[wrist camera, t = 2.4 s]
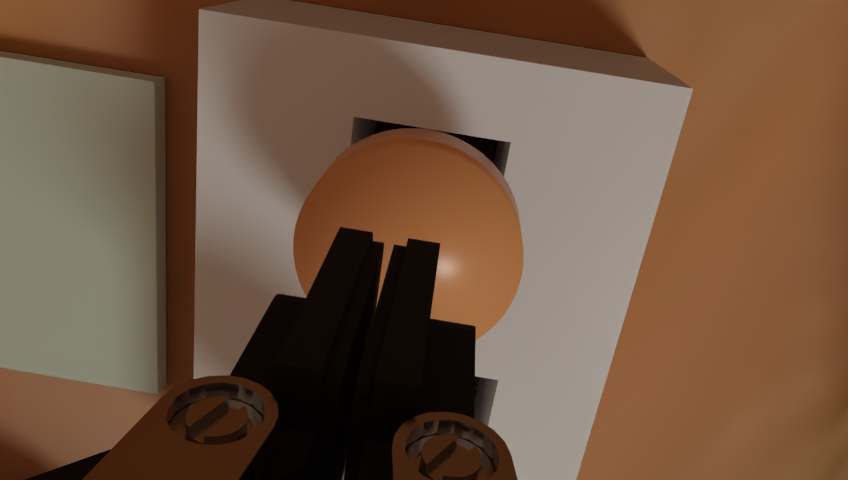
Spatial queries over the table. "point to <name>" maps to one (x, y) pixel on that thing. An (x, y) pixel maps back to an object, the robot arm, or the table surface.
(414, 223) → the plunger
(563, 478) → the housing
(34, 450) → the table surface
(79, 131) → the mat
